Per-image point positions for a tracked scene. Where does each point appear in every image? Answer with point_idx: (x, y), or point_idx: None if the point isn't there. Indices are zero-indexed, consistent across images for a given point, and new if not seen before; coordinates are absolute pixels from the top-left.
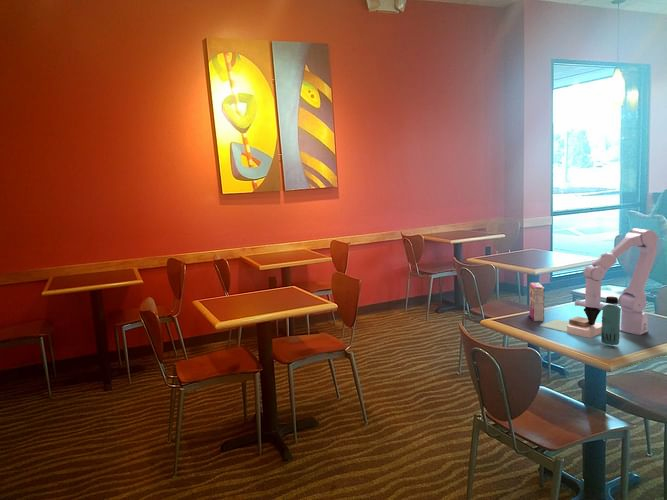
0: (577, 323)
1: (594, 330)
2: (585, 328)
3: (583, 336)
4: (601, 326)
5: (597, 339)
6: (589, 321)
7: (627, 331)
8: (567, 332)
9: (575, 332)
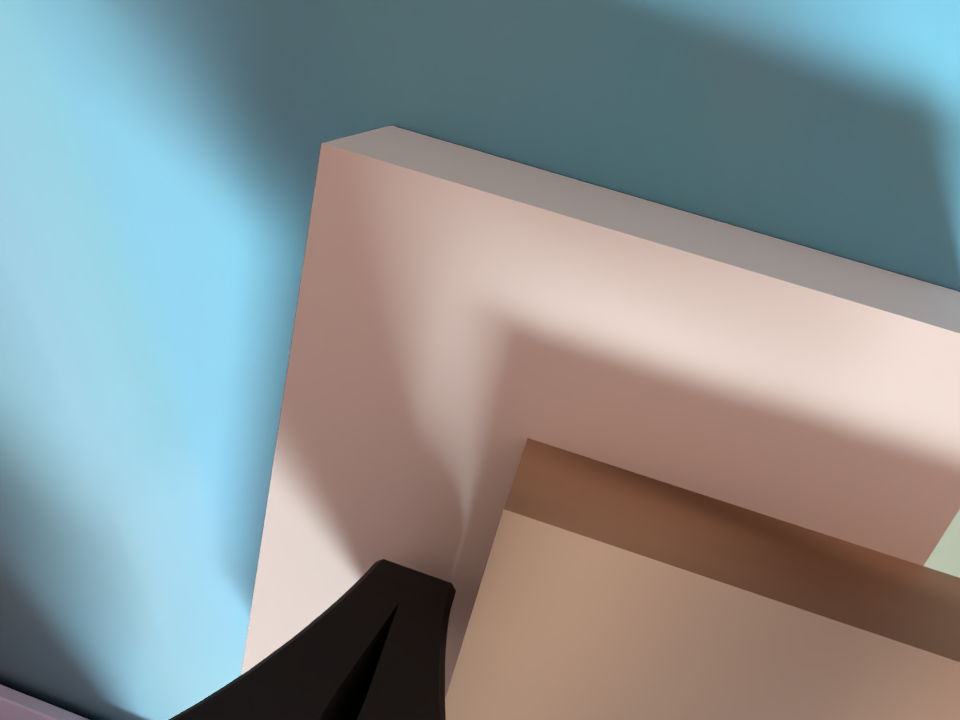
0: (747, 549)
1: (299, 349)
2: (495, 348)
3: (538, 171)
4: (256, 642)
5: (245, 123)
6: (411, 628)
7: (42, 716)
8: (949, 293)
9: (741, 241)
